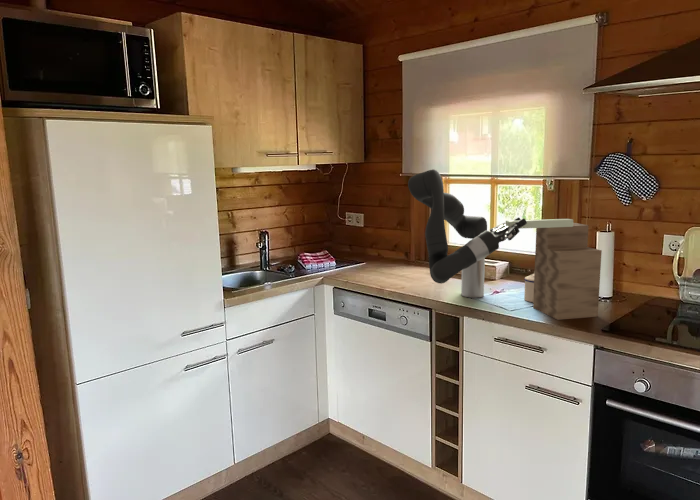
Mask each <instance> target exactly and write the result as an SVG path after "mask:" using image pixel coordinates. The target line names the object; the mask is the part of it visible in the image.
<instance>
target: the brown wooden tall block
mask: <svg viewBox="0 0 700 500" xmlns="http://www.w3.org/2000/svg"><path fill="white" fill-rule="evenodd" d="M535 231H536V232H535V251H534V252H535V254H534V272H535V275H534V300H533V302H532V304H533V305H532V307H533V309H534V310H537V311H539V312H541V313H543V314H545V315H547V316H549V317H551V318H553V319H555V320H569V319H571V320H573V319H584V318H597V317H599V302H600V287H601V285H600V284H601V268H602V254H603V253H602V249H597V248H593V247H588V243H589V241H588V240H589V224H582V223H577V222H573V227H551V228H535Z"/></svg>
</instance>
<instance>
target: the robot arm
mask: <svg viewBox="0 0 700 500" xmlns="http://www.w3.org/2000/svg"><path fill="white" fill-rule="evenodd" d="M407 187H408V190H409V192H410V194H411V196H412V197H413V198H414V199H415V200H417V201H418V202H420V203H422V204H423V205H425V206H426V207H429V209H431V211H430V215H429V217H428V219H427V223H426V226H425V229H424V230H425V232H424V235H425V237H424V238H425V242H426V248H427V252H428V253H427V255H428V267H429V274H430V275H429V276H430V278H431V280H432V281H433V282H434V283H437V284H445V283H447V282H448V281H449V280H450V279H451V278H453V277H454V276H455V275H457V274H458V273H460V272H461V293H460V295H461V296H462V297H464V298H473V299H475V298H477V299H478V298H482V297H484V295H485V263H486V262H485V261H486V260H485V258H486V257H487V256H490V255H491V254H493V253H494V252H496V251H497V250H499V248H500V243H502V242H504V241H506V240H508V241H512V240H513V239H514V238H515V237H516V236H517V235H518V234H519V233H520V232H521V231H520V229H519V228H521V227H522V226H524V225H525V224H527V222H526V220H527V219H526V218H525V217H524V218H523V217H522V218H521V217H520V216H519V217H518V216H517V217H516V218H514V219H513V220H519V221H518V222H516V223H515V224H513V225H511V226H506V222H502V223H501V224H499V225H496V226H494V227H492V228H490V229H489V230H488V221H487V220H486V218H485V217H483V216H471V215H465V208H464V207H465V206H464V204H463V203H462V202H461V200H459V198H457V197H456V196H455V195H453V194H451V193H449V192H445V191H444V182H443V178H442V175H441V174H440V172H439V171H438V170H437V169H435V168H434V169H433V168H432V169H429V170H426V171H423V172H420V173H419V172H418V173H417V174H414V175H412V176H411V177H409V179H408V182H407ZM513 220H511V221H513ZM445 222H447V223H448V224H449V225H450V226H452V228H454V230H455V231H456V233H458V235H459V236H461V237H462V238H464V239H470V240H469V241H468V242H467V243H466V244H464V245H462V246H461V247H459V248H458V249H456V250H455V251H454V252H453V253H450V254H449V255H448V252H449V246H448V245H449V244H448V239H447V233H446V227H445ZM521 229H522V228H521Z"/></svg>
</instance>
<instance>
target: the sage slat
mask: <svg viewBox="0 0 700 500" xmlns="http://www.w3.org/2000/svg"><path fill="white" fill-rule="evenodd" d="M525 220H526V222H527V224H525V225H524V226H522V227H521V228H519V230H520V229H536V228H551V227H573V223H574V219H572V218H554V219H552V218H551V219H547V218H546V219H525ZM518 221H519V220H514V219H513V221H512V220H505V223H506V226H511V225H513V224H515V223H516V222H518Z"/></svg>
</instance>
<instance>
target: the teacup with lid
mask: <svg viewBox="0 0 700 500" xmlns="http://www.w3.org/2000/svg"><path fill="white" fill-rule="evenodd" d="M534 275H535V271H533V273H531V274H530V275H528V276H525V277H524V298H523V299H524V300H525V301H526V302H529V303H533V300H534Z"/></svg>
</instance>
